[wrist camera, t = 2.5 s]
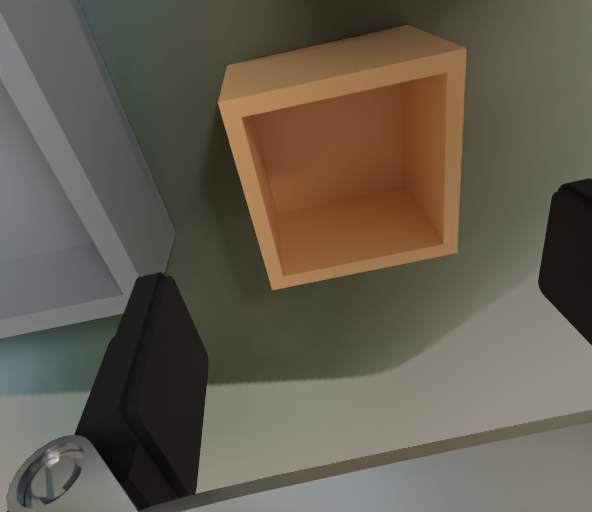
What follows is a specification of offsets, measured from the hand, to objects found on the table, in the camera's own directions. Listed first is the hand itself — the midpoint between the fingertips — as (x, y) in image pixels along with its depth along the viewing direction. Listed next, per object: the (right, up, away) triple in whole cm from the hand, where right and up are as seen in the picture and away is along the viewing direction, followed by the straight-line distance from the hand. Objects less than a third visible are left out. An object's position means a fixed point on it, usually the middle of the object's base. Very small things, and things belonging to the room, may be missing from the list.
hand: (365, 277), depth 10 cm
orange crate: (0, +5, +6) cm, 8 cm away
